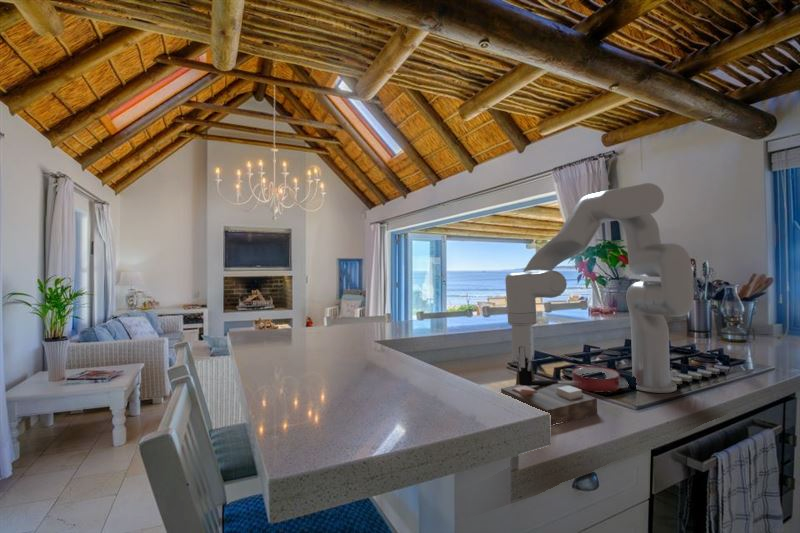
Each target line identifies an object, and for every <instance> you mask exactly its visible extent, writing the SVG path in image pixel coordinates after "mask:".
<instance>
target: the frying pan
mask: <svg viewBox="0 0 800 533" xmlns="http://www.w3.org/2000/svg"><path fill="white" fill-rule="evenodd" d="M590 372H602V373H605V375H606V376H607V378H606V379H597V378H588V377H583V376H580V375H582V374H586V373H590ZM571 374H572V375H571V377H572V378H571V379H572V380H557V379H546V380H545V379H535V380H532V386H544V385H551V384H555V383H557V384H560V385H562V386H568V385H570V386H573V387H575V388H578V389H581V390H582V391H584V390H586V391H585V392H589V391H603V392H608V391H614V390H617V391H618V389H620V388H621V380H620V379H621V377H620V372H618V370H615V369H612V368H609V367H603V366H596V365H595V366H593V365H585V366H583V365H582V366H577V367H574V368H573V369H572V370H571Z"/></svg>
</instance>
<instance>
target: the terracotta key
mask: <svg viewBox="0 0 800 533" xmlns="http://www.w3.org/2000/svg"><path fill="white" fill-rule="evenodd" d="M513 391H514V392H516V393H518V394H521V395H523V396H524V395H528V394H533V393H536V390H534V389H532V388H529V387H527V386H522V387H517V388H513Z"/></svg>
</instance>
